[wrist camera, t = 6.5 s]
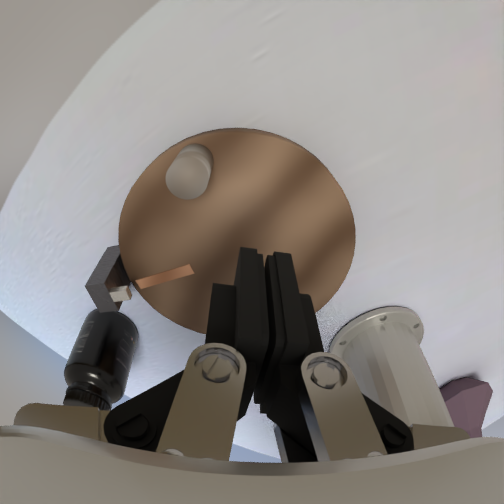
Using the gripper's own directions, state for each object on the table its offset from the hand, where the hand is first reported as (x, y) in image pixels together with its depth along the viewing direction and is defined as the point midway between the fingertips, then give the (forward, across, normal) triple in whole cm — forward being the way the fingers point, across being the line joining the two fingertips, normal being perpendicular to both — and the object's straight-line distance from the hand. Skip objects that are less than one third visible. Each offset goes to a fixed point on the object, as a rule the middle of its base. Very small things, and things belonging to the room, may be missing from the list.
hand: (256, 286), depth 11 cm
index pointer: (+16, +11, +12) cm, 23 cm away
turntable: (+16, 0, +8) cm, 18 cm away
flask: (+18, -44, +34) cm, 58 cm away
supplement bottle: (+17, +13, +22) cm, 30 cm away
